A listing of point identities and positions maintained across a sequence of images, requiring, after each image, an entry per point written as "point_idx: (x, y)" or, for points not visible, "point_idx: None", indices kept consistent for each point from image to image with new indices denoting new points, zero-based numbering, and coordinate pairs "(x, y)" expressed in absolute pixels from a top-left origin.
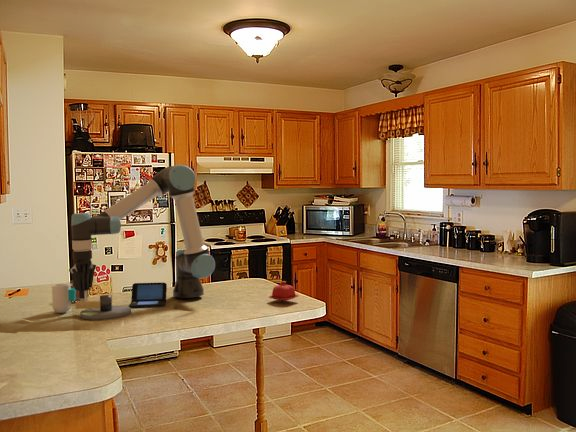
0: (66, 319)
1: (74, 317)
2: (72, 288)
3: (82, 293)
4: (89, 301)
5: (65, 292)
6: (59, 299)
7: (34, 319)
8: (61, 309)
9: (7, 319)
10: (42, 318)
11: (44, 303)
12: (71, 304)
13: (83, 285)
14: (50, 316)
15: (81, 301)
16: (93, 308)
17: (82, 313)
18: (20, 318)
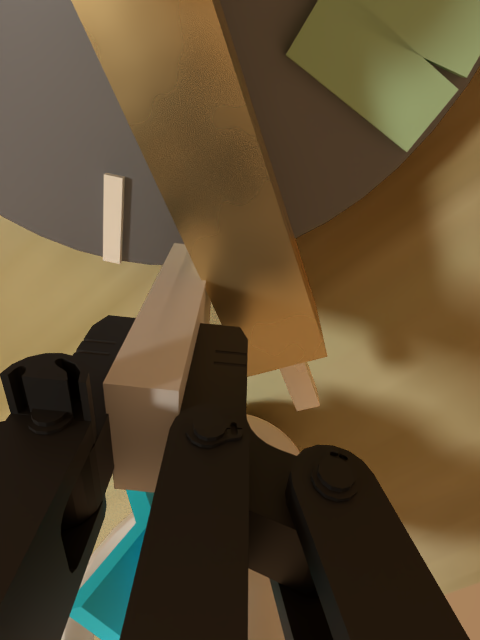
0: (469, 258)
1: (375, 238)
2: (103, 632)
3: (230, 387)
4: (231, 173)
5: (262, 602)
6: None
7: (462, 477)
8: (290, 442)
9: (458, 580)
10: (429, 452)
11: None
12: (314, 387)
13: (197, 551)
14: (359, 441)
15: (265, 307)
16: (118, 190)
17: (426, 119)
18: (431, 547)
